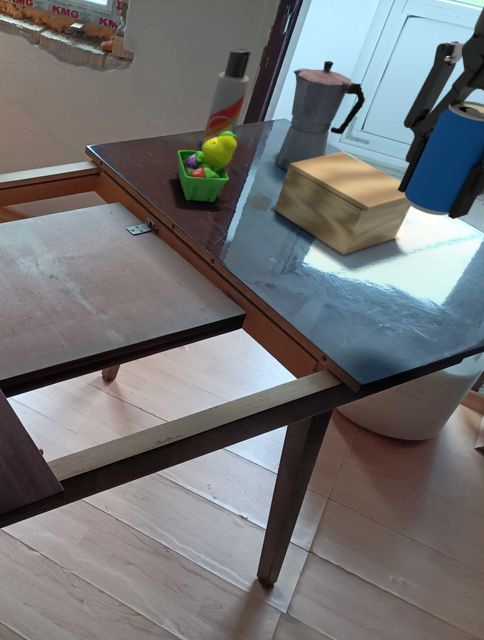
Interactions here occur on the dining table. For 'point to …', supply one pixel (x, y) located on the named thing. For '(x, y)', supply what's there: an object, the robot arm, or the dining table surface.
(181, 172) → the fruit basket
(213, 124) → the lotion bottle
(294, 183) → the chest
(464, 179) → the beverage can
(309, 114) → the moka pot
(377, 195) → the wooden lid
